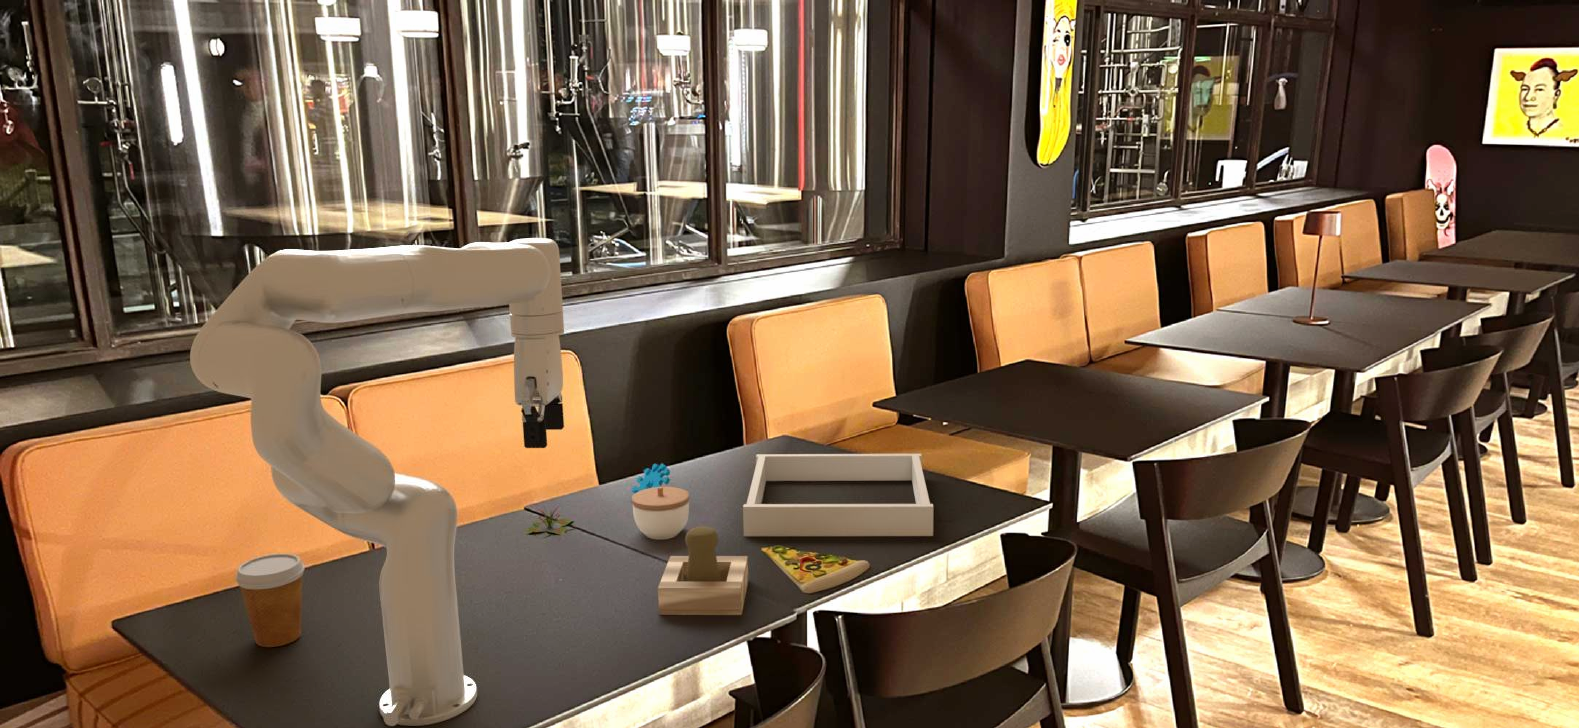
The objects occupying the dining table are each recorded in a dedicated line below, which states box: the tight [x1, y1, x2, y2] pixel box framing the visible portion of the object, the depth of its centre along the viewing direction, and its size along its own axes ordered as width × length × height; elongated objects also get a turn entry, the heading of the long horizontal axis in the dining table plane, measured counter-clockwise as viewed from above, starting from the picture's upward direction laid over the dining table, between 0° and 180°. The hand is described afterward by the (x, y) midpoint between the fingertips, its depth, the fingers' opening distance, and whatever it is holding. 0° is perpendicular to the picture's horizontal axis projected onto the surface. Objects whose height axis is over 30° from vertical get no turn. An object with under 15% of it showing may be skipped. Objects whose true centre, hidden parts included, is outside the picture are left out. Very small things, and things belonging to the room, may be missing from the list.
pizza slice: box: [761, 544, 871, 594], centre depth 192 cm, size 16×21×3 cm
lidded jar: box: [631, 486, 690, 541], centre depth 207 cm, size 11×11×9 cm
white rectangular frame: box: [742, 453, 934, 537], centre depth 220 cm, size 33×35×6 cm
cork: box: [685, 525, 721, 582], centre depth 178 cm, size 6×6×11 cm
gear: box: [630, 463, 671, 501], centre depth 225 cm, size 11×6×10 cm
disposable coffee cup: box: [234, 553, 306, 648], centre depth 167 cm, size 10×10×12 cm
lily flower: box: [524, 505, 577, 538], centre depth 212 cm, size 12×12×5 cm
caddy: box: [657, 555, 749, 616], centre depth 179 cm, size 13×13×4 cm
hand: (544, 438), depth 164 cm, fingers open, 9 cm apart
